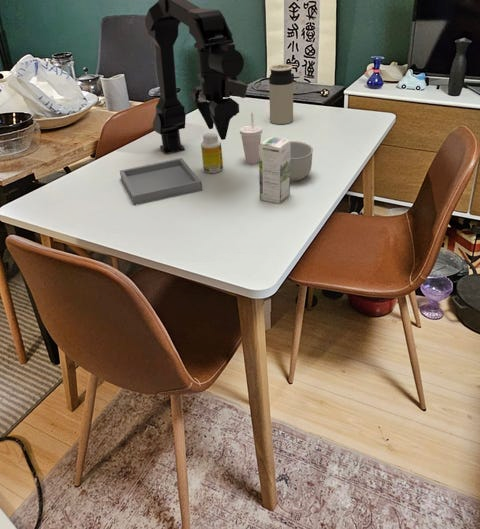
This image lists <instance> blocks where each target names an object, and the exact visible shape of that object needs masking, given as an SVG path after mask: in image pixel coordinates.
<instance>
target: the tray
mask: <svg viewBox="0 0 480 529" xmlns="http://www.w3.org/2000/svg"><path fill="white" fill-rule="evenodd" d="M119 174H120V179H121V181H122V183H123V185H124V188H125V189H126V191H127V194H128V196H129V197H130V199H131V201H132V203H133V205H134V206H137V205H136V204H138V205H142V204H145V203H150V202H155V201H159V200H164V199H169V198H173V197H177V196H182V195H186V194H190V193H195V192H200V191H203V186H202V185H203V184H202V180H201V179H200V178H199V177H198V175H197V174H196V173H195V172H194V171H193V169H192V168H191V167H190V165H188V164H187V163H186V161H185V160H184V158H182V157H180V158H176V159H170V160H166V161H160V162H155V163H151V164H145V165H140V166H136V167H135V166H134V167H131V168H125V169H121V170H119ZM141 203H142V204H141Z"/></svg>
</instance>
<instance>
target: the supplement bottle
mask: <svg viewBox="0 0 480 529" xmlns="http://www.w3.org/2000/svg"><path fill="white" fill-rule="evenodd" d="M218 136H219V134H218V132H207V133H204V134H203V136H202V137H203V138H202V141H201V143H200V148H201V149H200V150H201V158H202V167H203V171H204V172H205V173H209V174H217V173H219V172H221V171H222V170H223V169H224V164H223V150H222V142H221V139H220V140H219V137H218Z"/></svg>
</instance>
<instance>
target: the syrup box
mask: <svg viewBox="0 0 480 529" xmlns="http://www.w3.org/2000/svg"><path fill="white" fill-rule="evenodd" d="M291 141H292V140H290V139H287V138H283V137H275V136H270V137H268V138H266V139H265V140H264V141H263V142H260V145H259V162H258V171H259V173H258V174H259V176H258V178H259V200H260V201H264V202H270V203H274V204H279V205H280V204H281V203H282V202H283V201H284V200H285V199H286V198H288V197H289V195H291V181H290V153H291Z"/></svg>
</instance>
